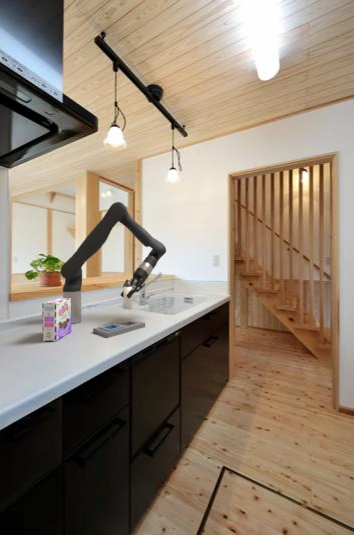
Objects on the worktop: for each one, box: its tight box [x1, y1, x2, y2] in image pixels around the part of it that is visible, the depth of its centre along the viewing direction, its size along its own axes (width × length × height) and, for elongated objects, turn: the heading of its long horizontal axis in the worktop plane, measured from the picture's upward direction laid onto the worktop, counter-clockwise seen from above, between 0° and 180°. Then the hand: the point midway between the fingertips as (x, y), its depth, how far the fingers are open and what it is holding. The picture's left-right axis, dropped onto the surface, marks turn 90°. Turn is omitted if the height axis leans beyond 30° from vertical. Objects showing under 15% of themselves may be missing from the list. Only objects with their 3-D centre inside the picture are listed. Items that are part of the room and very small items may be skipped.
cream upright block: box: [122, 282, 133, 310], centre depth 115 cm, size 4×4×13 cm
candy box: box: [41, 297, 72, 342], centre depth 101 cm, size 14×6×16 cm, turn 179°
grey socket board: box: [92, 319, 146, 339], centre depth 111 cm, size 12×22×2 cm, turn 140°
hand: (124, 296), depth 114 cm, fingers closed on cream upright block, 4 cm apart
